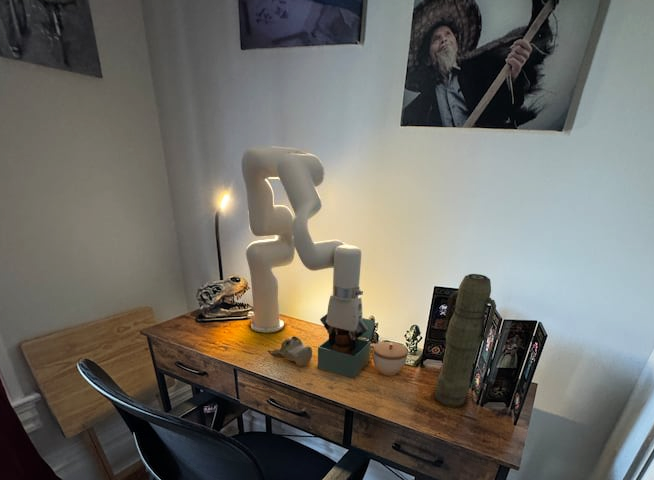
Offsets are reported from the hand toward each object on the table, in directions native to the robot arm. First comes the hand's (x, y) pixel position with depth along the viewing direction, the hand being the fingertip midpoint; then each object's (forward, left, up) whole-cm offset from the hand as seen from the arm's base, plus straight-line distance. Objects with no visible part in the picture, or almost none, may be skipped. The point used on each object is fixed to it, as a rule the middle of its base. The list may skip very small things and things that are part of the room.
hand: (342, 346), depth 119 cm
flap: (0, +9, +4) cm, 9 cm away
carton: (0, +1, -7) cm, 7 cm away
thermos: (+35, -1, -7) cm, 36 cm away
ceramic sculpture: (-15, -4, -7) cm, 18 cm away
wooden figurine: (0, 0, -7) cm, 7 cm away
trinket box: (+14, +5, -7) cm, 17 cm away
